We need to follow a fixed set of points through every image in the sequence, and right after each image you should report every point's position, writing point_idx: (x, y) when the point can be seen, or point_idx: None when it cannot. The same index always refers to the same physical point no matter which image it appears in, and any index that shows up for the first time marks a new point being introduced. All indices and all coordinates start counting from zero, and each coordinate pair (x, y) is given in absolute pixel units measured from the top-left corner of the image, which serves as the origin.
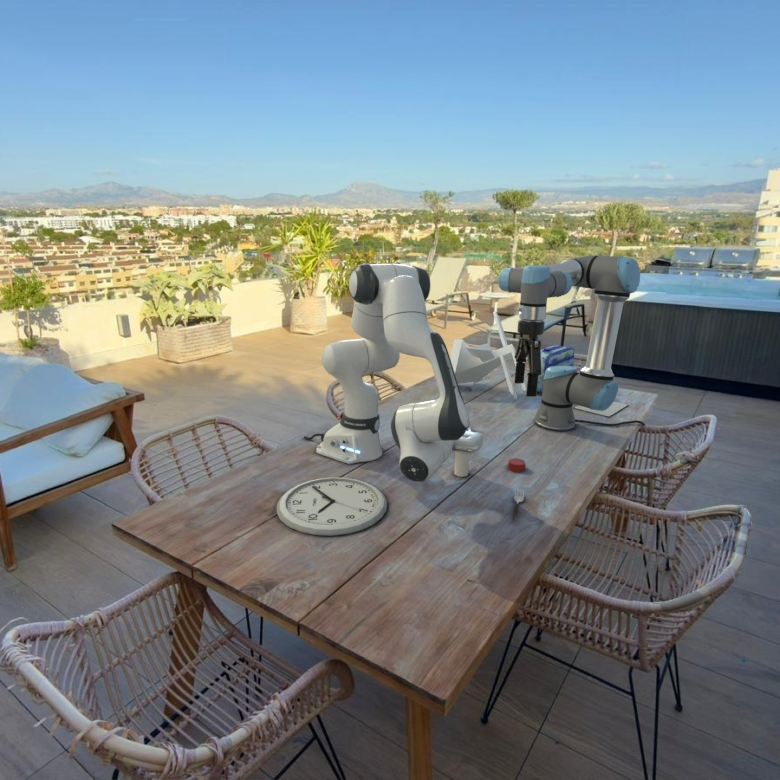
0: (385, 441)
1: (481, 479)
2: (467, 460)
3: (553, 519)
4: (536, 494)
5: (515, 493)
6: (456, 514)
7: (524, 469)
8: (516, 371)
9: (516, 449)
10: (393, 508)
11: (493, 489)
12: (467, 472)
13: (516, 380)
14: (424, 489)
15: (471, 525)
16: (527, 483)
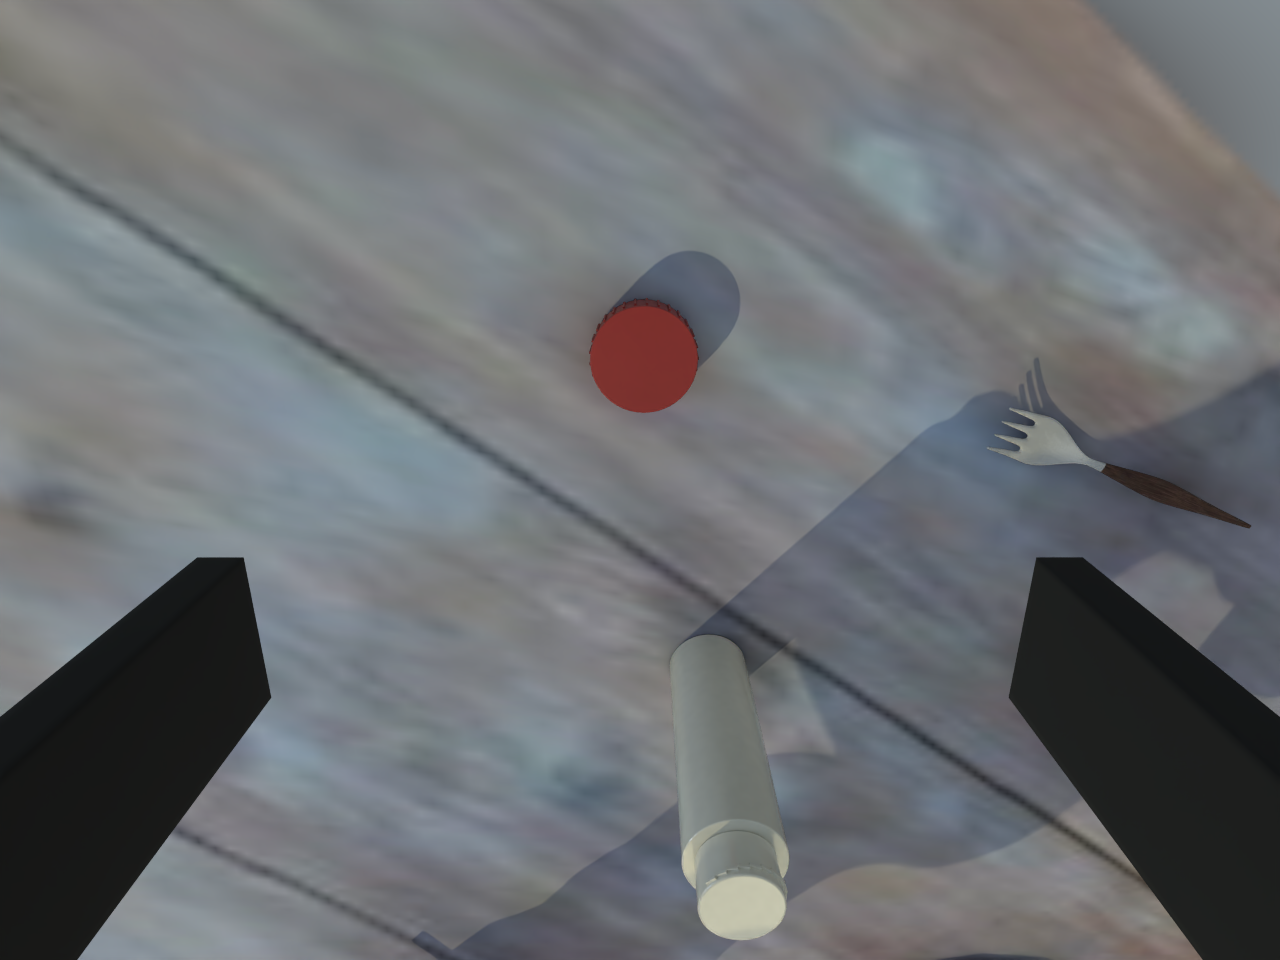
0: (327, 957)
1: (780, 579)
2: (750, 703)
3: (1267, 307)
4: (987, 319)
5: (1008, 455)
6: None
7: (668, 305)
8: (132, 875)
9: (326, 268)
10: (1010, 941)
11: (899, 540)
12: (735, 652)
13: (241, 711)
14: (864, 833)
15: None
16: (847, 334)
